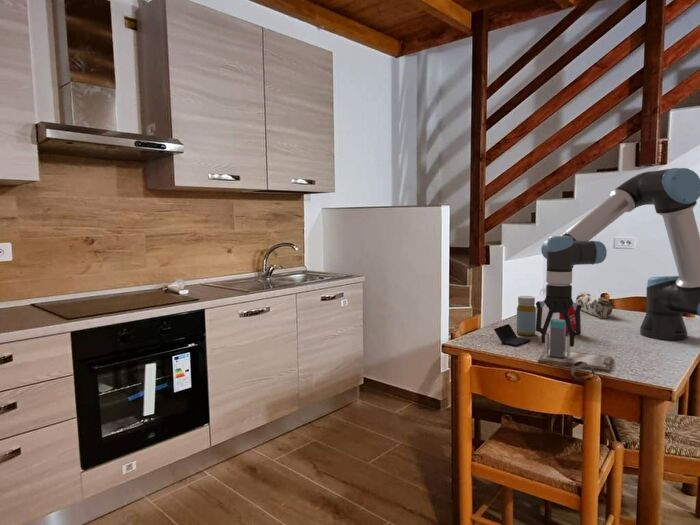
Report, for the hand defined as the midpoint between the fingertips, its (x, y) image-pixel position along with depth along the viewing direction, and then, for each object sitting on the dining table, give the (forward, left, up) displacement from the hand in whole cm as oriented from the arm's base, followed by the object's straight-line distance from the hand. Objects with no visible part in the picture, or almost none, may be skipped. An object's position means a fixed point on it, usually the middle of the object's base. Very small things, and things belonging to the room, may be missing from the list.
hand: (557, 354), depth 150 cm
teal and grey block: (0, 0, -1) cm, 1 cm away
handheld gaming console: (+18, -16, -2) cm, 24 cm away
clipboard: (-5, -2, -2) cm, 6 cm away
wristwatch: (-9, +15, -2) cm, 18 cm away
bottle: (+16, -30, -2) cm, 34 cm away
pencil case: (-3, -84, -2) cm, 85 cm away
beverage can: (+2, -39, -2) cm, 39 cm away
